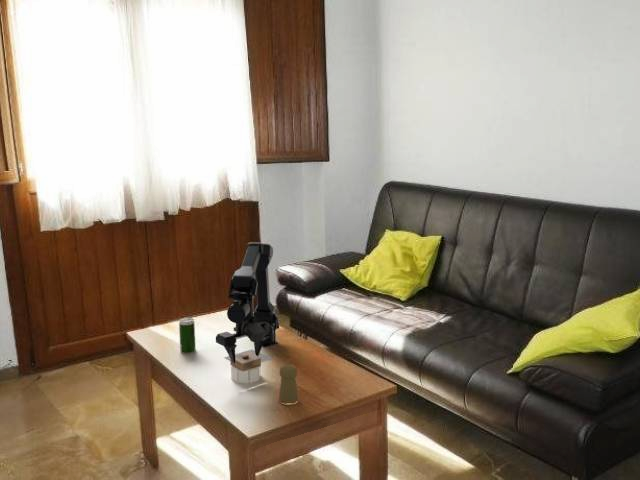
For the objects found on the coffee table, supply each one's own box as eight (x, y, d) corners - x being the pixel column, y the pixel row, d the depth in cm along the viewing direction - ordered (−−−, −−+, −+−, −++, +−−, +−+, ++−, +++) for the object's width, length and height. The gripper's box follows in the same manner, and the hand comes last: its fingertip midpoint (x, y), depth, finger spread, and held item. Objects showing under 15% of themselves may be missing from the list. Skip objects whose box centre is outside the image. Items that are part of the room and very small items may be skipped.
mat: (252, 350, 238) (252, 349, 238) (272, 359, 229) (272, 358, 229) (223, 358, 230) (223, 357, 230) (243, 368, 221) (243, 367, 221)
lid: (248, 359, 218) (248, 350, 217) (261, 365, 213) (260, 356, 212) (230, 364, 213) (230, 355, 213) (243, 371, 208) (242, 361, 207)
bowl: (249, 370, 220) (249, 357, 219) (265, 378, 213) (265, 365, 212) (226, 378, 214) (226, 364, 213) (242, 386, 208) (242, 373, 207)
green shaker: (278, 397, 200) (277, 362, 198) (298, 396, 201) (298, 362, 199) (278, 405, 194) (278, 370, 192) (299, 405, 195) (299, 370, 193)
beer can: (183, 355, 233) (182, 323, 231) (178, 351, 237) (176, 319, 235) (198, 352, 236) (196, 320, 234) (192, 348, 240) (190, 316, 238)
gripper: (234, 325, 197) (235, 374, 201) (283, 312, 209) (283, 359, 213) (214, 316, 205) (215, 363, 209) (262, 304, 218) (263, 349, 221)
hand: (245, 359), depth 212 cm, fingers open, 9 cm apart
